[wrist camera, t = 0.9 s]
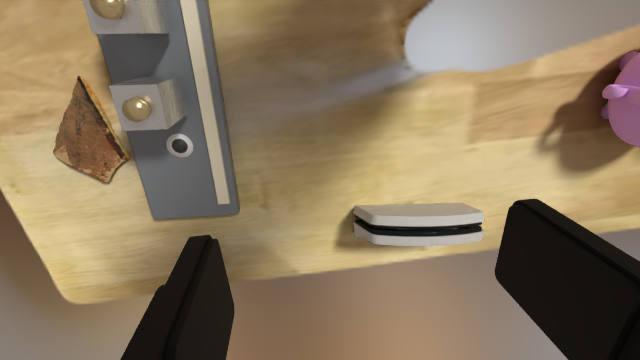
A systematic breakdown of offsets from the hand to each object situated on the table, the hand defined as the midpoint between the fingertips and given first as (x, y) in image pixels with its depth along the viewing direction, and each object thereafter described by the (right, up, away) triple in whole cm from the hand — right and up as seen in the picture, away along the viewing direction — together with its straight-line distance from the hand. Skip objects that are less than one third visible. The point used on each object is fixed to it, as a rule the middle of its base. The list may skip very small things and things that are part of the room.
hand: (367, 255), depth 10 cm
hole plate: (-18, +11, +26) cm, 33 cm away
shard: (-30, +8, +27) cm, 41 cm away
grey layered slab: (+12, -2, +35) cm, 37 cm away
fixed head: (-18, +19, +20) cm, 33 cm away
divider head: (-18, +12, +23) cm, 32 cm away
